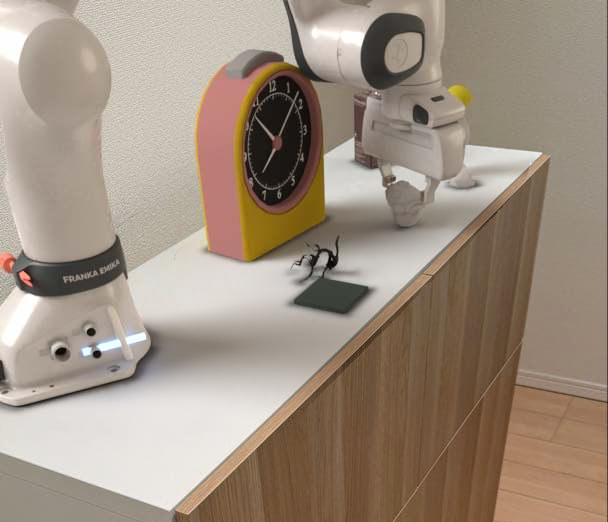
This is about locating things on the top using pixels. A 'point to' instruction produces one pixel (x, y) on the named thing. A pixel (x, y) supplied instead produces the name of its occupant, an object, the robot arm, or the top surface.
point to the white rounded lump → (404, 203)
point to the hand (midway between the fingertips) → (407, 194)
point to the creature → (330, 263)
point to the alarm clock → (259, 155)
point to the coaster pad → (331, 295)
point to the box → (359, 111)
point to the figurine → (463, 176)
